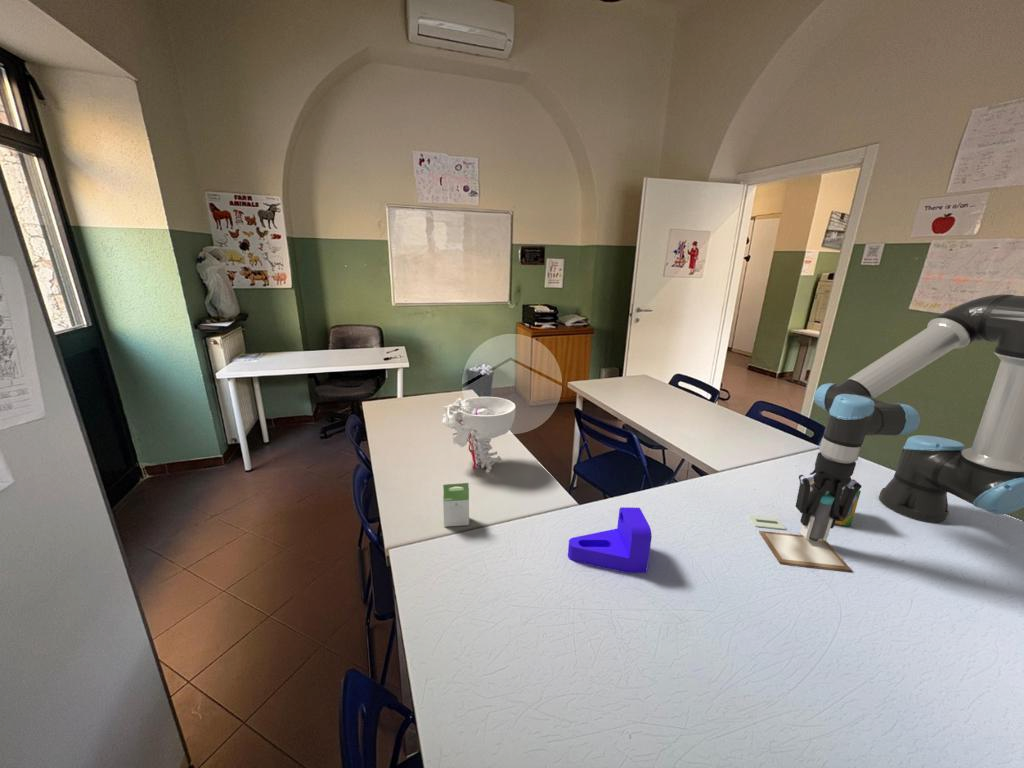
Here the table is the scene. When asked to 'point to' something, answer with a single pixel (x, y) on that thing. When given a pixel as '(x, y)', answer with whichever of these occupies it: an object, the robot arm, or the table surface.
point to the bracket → (616, 544)
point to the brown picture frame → (803, 551)
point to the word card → (766, 522)
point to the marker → (821, 516)
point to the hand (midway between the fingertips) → (813, 536)
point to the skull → (479, 425)
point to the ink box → (456, 504)
